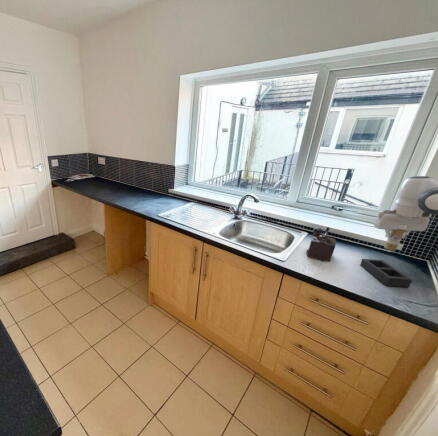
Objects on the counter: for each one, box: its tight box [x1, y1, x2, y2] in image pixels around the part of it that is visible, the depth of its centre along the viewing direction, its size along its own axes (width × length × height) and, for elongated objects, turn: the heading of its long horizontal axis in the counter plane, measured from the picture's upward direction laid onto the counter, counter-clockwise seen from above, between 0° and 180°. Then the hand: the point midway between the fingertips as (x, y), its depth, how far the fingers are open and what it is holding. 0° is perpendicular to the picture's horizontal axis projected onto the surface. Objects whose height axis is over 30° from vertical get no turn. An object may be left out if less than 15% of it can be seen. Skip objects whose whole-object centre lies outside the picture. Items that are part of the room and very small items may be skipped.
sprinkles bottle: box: [383, 225, 407, 252], centre depth 117 cm, size 5×5×14 cm
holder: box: [359, 258, 413, 288], centre depth 112 cm, size 9×16×4 cm, turn 173°
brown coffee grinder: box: [306, 226, 337, 263], centre depth 125 cm, size 16×11×18 cm
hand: (394, 237), depth 117 cm, fingers closed on sprinkles bottle, 4 cm apart
